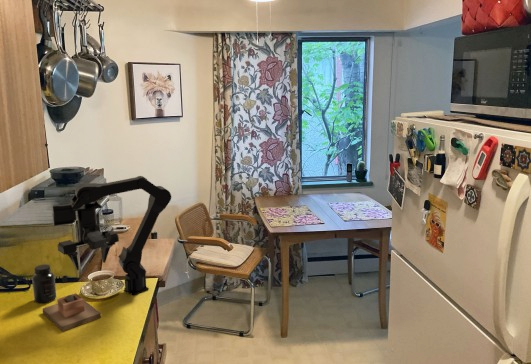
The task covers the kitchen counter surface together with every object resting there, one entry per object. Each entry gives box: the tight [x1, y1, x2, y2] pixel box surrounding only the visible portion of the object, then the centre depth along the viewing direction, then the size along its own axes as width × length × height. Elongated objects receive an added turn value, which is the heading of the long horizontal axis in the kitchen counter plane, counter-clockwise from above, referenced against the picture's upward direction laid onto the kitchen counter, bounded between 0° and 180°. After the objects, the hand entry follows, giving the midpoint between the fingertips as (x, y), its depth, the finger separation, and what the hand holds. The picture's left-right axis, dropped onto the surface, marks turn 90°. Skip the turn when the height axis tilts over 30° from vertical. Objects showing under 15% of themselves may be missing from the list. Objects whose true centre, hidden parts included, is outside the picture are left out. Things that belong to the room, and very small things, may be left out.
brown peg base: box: [42, 294, 102, 332], centre depth 143 cm, size 12×16×6 cm
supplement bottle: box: [31, 263, 57, 305], centre depth 153 cm, size 7×7×12 cm
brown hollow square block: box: [56, 292, 85, 317], centre depth 143 cm, size 6×6×4 cm
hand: (91, 266), depth 152 cm, fingers open, 9 cm apart
